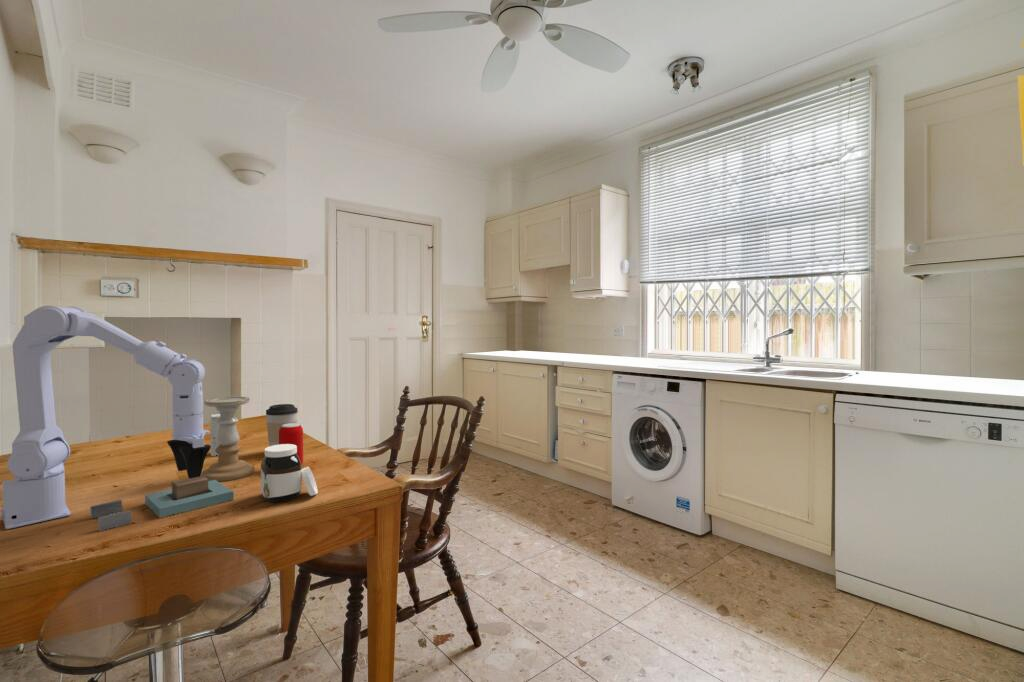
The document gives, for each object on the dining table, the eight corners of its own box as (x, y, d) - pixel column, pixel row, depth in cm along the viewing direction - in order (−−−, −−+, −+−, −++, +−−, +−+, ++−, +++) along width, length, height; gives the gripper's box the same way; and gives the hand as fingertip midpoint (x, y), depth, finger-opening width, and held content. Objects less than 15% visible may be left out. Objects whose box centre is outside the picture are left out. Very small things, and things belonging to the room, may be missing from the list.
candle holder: (257, 465, 137) (256, 394, 136) (250, 479, 126) (249, 401, 125) (207, 469, 133) (206, 396, 132) (195, 484, 121) (193, 404, 121)
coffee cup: (266, 450, 153) (266, 403, 152) (298, 447, 157) (297, 401, 156) (265, 457, 145) (264, 408, 144) (298, 454, 149) (298, 405, 148)
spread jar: (256, 495, 114) (255, 446, 114) (305, 484, 122) (304, 438, 122) (274, 509, 106) (273, 457, 105) (325, 496, 114) (325, 447, 113)
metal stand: (99, 531, 94) (99, 518, 94) (90, 517, 100) (90, 506, 100) (131, 523, 98) (131, 511, 98) (120, 510, 104) (120, 499, 104)
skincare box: (210, 456, 145) (210, 416, 145) (210, 453, 149) (209, 414, 149) (234, 453, 149) (233, 414, 148) (233, 450, 152) (232, 412, 152)
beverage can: (280, 464, 138) (280, 423, 137) (304, 463, 140) (304, 421, 139) (277, 471, 132) (276, 427, 132) (302, 469, 134) (301, 426, 133)
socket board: (160, 518, 100) (159, 508, 100) (145, 503, 108) (145, 494, 108) (233, 499, 111) (233, 491, 111) (215, 487, 119) (215, 479, 119)
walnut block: (208, 500, 111) (208, 479, 111) (177, 508, 106) (177, 485, 106) (202, 496, 113) (202, 475, 113) (172, 503, 109) (171, 481, 109)
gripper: (219, 415, 107) (220, 476, 108) (197, 407, 117) (198, 463, 117) (182, 420, 102) (183, 484, 102) (162, 411, 111) (163, 469, 112)
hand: (189, 473), depth 109 cm, fingers open, 7 cm apart
